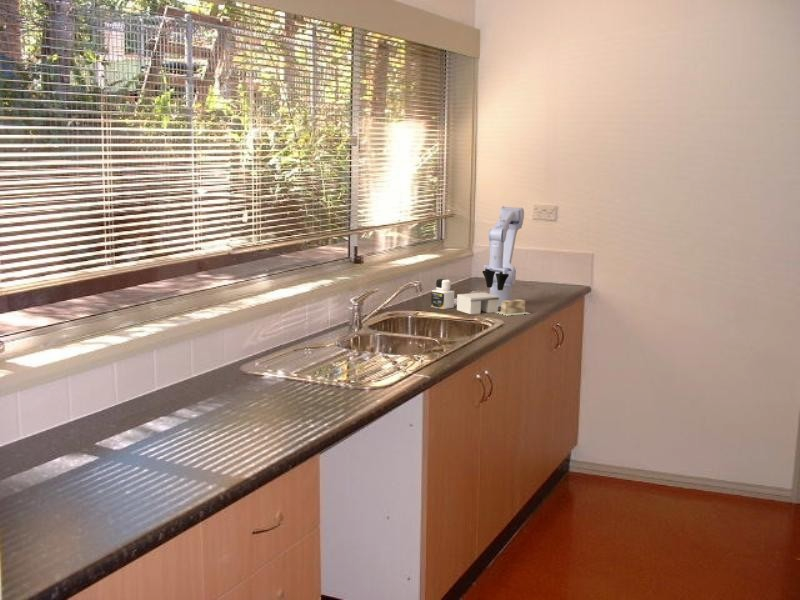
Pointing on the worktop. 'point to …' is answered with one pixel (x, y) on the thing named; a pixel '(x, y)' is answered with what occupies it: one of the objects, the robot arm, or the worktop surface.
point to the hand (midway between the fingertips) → (494, 288)
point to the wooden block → (513, 306)
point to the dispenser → (477, 303)
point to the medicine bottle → (442, 295)
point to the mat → (513, 313)
